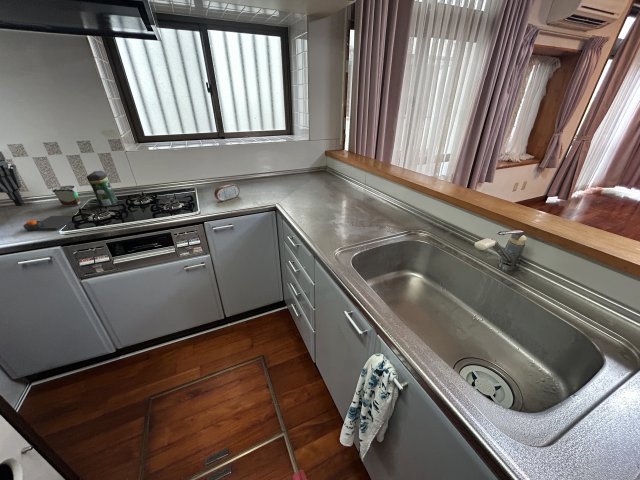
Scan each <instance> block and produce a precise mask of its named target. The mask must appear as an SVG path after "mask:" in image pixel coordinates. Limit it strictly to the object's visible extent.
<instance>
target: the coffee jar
mask: <svg viewBox="0 0 640 480" xmlns="http://www.w3.org/2000/svg"><path fill="white" fill-rule="evenodd" d="M108 177H109V176H108V175H107V173H106V172H105V171H103V170H95V171H93V172H91V173H89V174H88V175H87V176H86V179H87V182H88V183H89V185H90V187H91V189H92V191H93V193H94V195H95V198H96V200H97V202H98V205H99V207H102V208H107V207H111V206H115V205H116V204H117V203H118V198H117V196H116V194H115V192H114V190H113V188H112V185H111V182H110V180H109V178H108Z"/></svg>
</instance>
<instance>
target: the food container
mask: <svg viewBox="0 0 640 480" xmlns="http://www.w3.org/2000/svg"><path fill="white" fill-rule="evenodd" d="M51 191H52V193H54V195H55V196H56V198H57V199H58V201H59V202H60V204H61V206H65V207H68V206H69V207H72V206H73V207H75V206H76V207H79V206H81V205H82V202H81V199H80V197H79V194H78V188H77V187H76V186H75V185H61V186H56V187H53V188H51Z"/></svg>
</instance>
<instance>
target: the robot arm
mask: <svg viewBox="0 0 640 480" xmlns="http://www.w3.org/2000/svg"><path fill="white" fill-rule="evenodd" d="M21 189H22V184H21V181H20V178H19V175H18V172H17V166H16V165H15V164H10V163H8V162H7V161H6V157H5V155H4V153H3V152H2V151H1V150H0V194H2V193H3V194H6V195H7V197H8V199H9V200H10V201H13V203H14V205H15V207H23V206H25V205H26V203H25V202H24V200H23V198H22V197H23V196H22V194H21V193H20V190H21Z"/></svg>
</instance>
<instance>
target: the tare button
mask: <svg viewBox="0 0 640 480" xmlns="http://www.w3.org/2000/svg"><path fill="white" fill-rule="evenodd" d="M36 221H37V220H36V219H29V220H26V221H25V224H26V223H27V225H34V224H36V223H37V222H36Z"/></svg>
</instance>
